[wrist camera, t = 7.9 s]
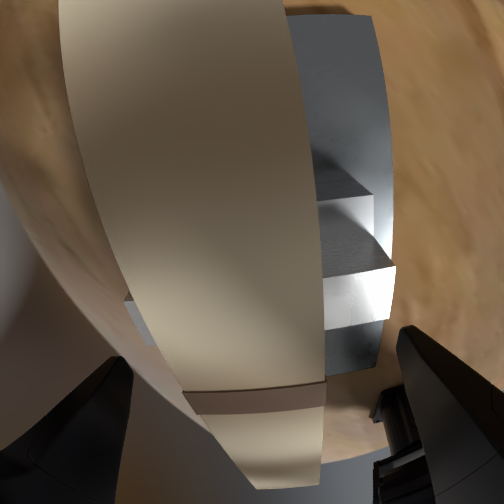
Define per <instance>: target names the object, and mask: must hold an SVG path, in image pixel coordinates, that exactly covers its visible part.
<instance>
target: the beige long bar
mask: <svg viewBox="0 0 504 504" xmlns="http://www.w3.org/2000/svg"><path fill="white" fill-rule="evenodd" d="M59 29H60V42H61V53H62V62H63V70H64V77H65V84H66V90H67V96H68V101H69V106H70V112H71V116H72V121H73V126H74V130H75V134H76V139H77V143H78V147H79V151H80V154H81V158H82V162H83V166H84V169H85V173H86V176H87V179H88V183H89V186H90V189H91V192H92V195H93V198H94V201H95V204H96V207H97V210H98V213H99V216H100V219H101V222H102V224H103V227H104V230H105V233H106V235H107V238H108V240H109V243H110V246H111V248H112V251H113V253H114V256H115V258H116V260H117V263H118V265H119V268H120V270H121V272H122V274H123V277H124V279H125V281H126V284H127V286H128V288H129V290H130V292H131V294H132V297H133V299H134V301H135V303H136V305H137V307H138V309H139V311H140V313H141V315H142V317H143V319H144V321H145V323H146V325H147V327H148V329H149V331H150V333H151V335H152V337H153V339H154V340H155V342H156V344H157V346H158V348H159V350H160V351H161V353H162V355H163V357H164V359H165V360H166V362H167V364H168V365H169V367H170V369H171V371H172V372H173V374H174V376H175V377H176V379H177V381H178V382H179V384H180V386H181V387H182V389H183V392H182V394H183V395H184V397H185V398H186V400H187V401H188V403H189V404H190V406H191V407H192V409H193V410H194V412H195V413H196V415H200V416H201V418H202V419H203V421H204V422H205V424H206V425H207V427H208V428H209V429H210V431H211V432H212V434H213V435H214V436H215V438H216V439H217V441H218V442H219V443H220V444H221V446H222V447H223V448H224V450H225V451H226V452H227V454H228V455H229V456H230V458H231V459H232V460H233V462H234V463H235V464H236V465H237V467H238V468H239V469H240V470H241V471H242V473H243V474H244V475H245V476H246V477H247V479H248V480H249V481H250V482H251V483H252V485H253V486H254V487H255V488H256V489H276V488H291V487H301V486H311V485H318V484H319V478H320V467H321V454H322V439H323V419H324V406H326V395H327V380H326V375H325V327H324V295H323V274H322V257H321V243H320V230H319V218H318V208H317V198H316V188H315V179H314V171H313V162H312V155H311V147H310V140H309V133H308V126H307V120H306V113H305V107H304V101H303V95H302V90H301V84H300V79H299V73H298V68H297V63H296V58H295V53H294V48H293V44H292V39H291V35H290V30H289V26H288V22H287V18H286V13H285V9H284V5H283V2H282V0H59Z"/></svg>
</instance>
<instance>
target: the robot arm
mask: <svg viewBox="0 0 504 504" xmlns="http://www.w3.org/2000/svg"><path fill="white" fill-rule="evenodd" d="M396 351H397V356H398V360H399V364H400V368H401V372H402V376H403V381H404V386H400V387H397V388H393V389H389V390H386V391H383V392H382V393H381V395H380V398H379V401H378V404H377V407H376V410H375V413H374V416H373V419H372V420H373V423H379V422H383V424H384V428H385V432H386V436H387V440H388V444H389V448H390V452H391V456H390V457H388V458H386V459H383V460H381V461H376V462H374V469H373V504H504V393H503V392H502V391H501V390H499V389H498V388H497V387H495V386H494V385H493V384H491V383H490V382H489V381H488V380H486V379H485V378H484V377H483V376H481V375H480V374H479V373H477V372H476V371H475V370H473V369H472V368H471V367H470V366H468V365H467V364H466V363H464V362H463V361H462V360H460V359H459V358H458V357H456V356H455V355H454V354H452V353H451V352H450V351H448V350H447V349H446V348H444V347H443V346H442V345H440V344H439V343H437V342H436V341H435V340H433V339H432V338H431V337H429V336H428V335H427V334H425V333H424V332H422V331H421V330H420V329H418V328H417V327H415V326H414V325H409V326H405V327H402V328H401V329H400V331H399V336H398V340H397V344H396ZM133 379H134V374H133V371H132V369H131V368H130V366H129V365H128V363H127V362H126V360H125V359H124V358H123V357H122V356H111V357H110V358H109V359H107V360H106V361H105V362H104V363H103V364H102V365H101V366H100V367H98V368H97V369H96V370H95V371H94V372H93V373H92V374H91V375H89V376H88V377H87V378H86V379H85V380H84V381H83V382H82V383H81V384H79V385H78V386H77V387H76V388H75V389H74V390H73V391H72V392H70V393H69V394H68V395H67V396H66V397H65V398H64V399H63V400H62V401H60V403H58V404H57V405H56V406H55V407H54V408H53V409H52V410H51V411H50V412H48V414H47V415H45V416H44V417H43V418H42V419H41V420H40V421H38V422H37V423H36V424H35V425H34V426H33V427H32V428H30V429H29V430H28V431H27V432H25V433H24V434H23V435H22V436H20V437H19V438H18V439H16V440H15V441H14V442H12V443H11V444H10V445H8V446H7V447H6V448H4V449H3V450H1V451H0V504H115V497H116V490H117V482H118V475H119V469H120V462H121V456H122V451H123V445H124V440H125V434H126V429H127V424H128V419H129V414H130V405H131V396H132V387H133Z"/></svg>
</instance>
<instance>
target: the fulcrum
mask: <svg viewBox="0 0 504 504" xmlns="http://www.w3.org/2000/svg"><path fill="white" fill-rule="evenodd" d="M286 18H287V22H288V26H289V30H290V35H291V39H292V44H293V48H294V53H295V58H296V63H297V68H298V73H299V79H300V84H301V90H302V95H303V101H304V107H305V113H306V120H307V126H308V133H309V140H310V147H311V155H312V162H313V171H314V179H315V188H316V198H317V208H318V218H319V230H320V243H321V257H322V274H323V295H324V327H325V375H326V376H331V375H337V374H342V373H348V372H353V371H358V370H363V369H368V368H372V367H375V366H376V361H377V356H378V351H379V346H380V340H381V334H382V329H383V322H384V319H388V318H389V315H390V309H391V302H392V295H393V287H394V279H395V270H396V266H395V265H394V263H393V262H392V261H391V250H392V232H393V160H392V142H391V129H390V119H389V109H388V101H387V93H386V86H385V80H384V74H383V68H382V62H381V57H380V52H379V47H378V42H377V38H376V34H375V29H374V25H373V21H372V17H371V16H366V15H348V14H310V15H292V16H286ZM123 302H124V304H125V306H126V308H127V310H128V312H129V314H130V316H131V318H132V320H133V322H134V324H135V326H136V328H137V329H138V331H139V333H140V335H141V337H142V339H143V340H144V342H145V344H146V346H148V345H157V344H156V342H155V340H154V339H153V337H152V335H151V333H150V331H149V329H148V327H147V325H146V323H145V321H144V319H143V317H142V315H141V313H140V311H139V309H138V307H137V305H136V303H135V301H134V299H133V297H132V294H131V292H130V291H129V293H128V294H127V296H126V298H125V299H124V301H123Z"/></svg>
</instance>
